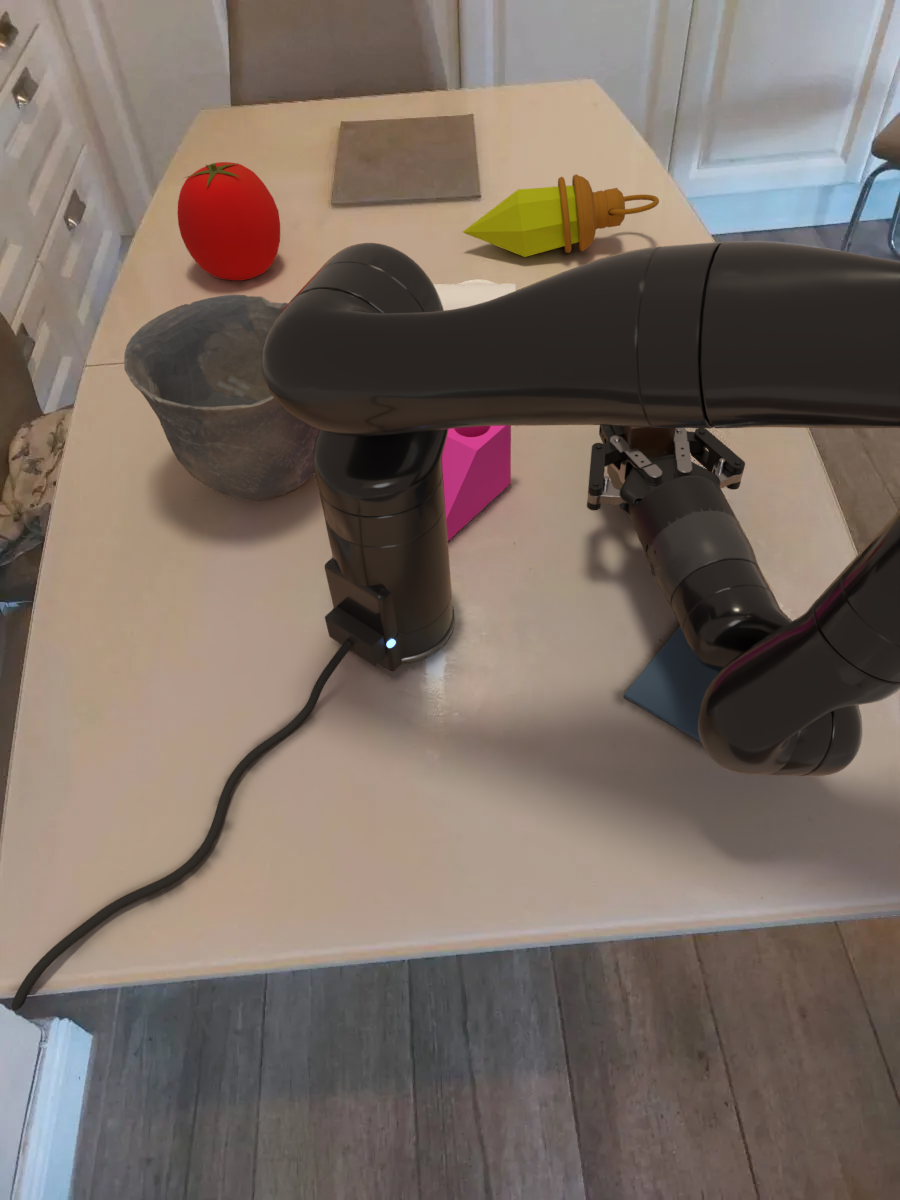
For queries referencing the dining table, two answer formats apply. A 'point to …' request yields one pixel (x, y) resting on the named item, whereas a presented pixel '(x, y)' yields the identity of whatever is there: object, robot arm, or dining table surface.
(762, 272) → the robot arm
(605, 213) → the plumb bob
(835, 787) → the dining table surface
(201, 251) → the tomato
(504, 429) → the bracket
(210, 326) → the grey deep bowl
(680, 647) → the blue mat
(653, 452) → the walnut block
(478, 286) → the mug
